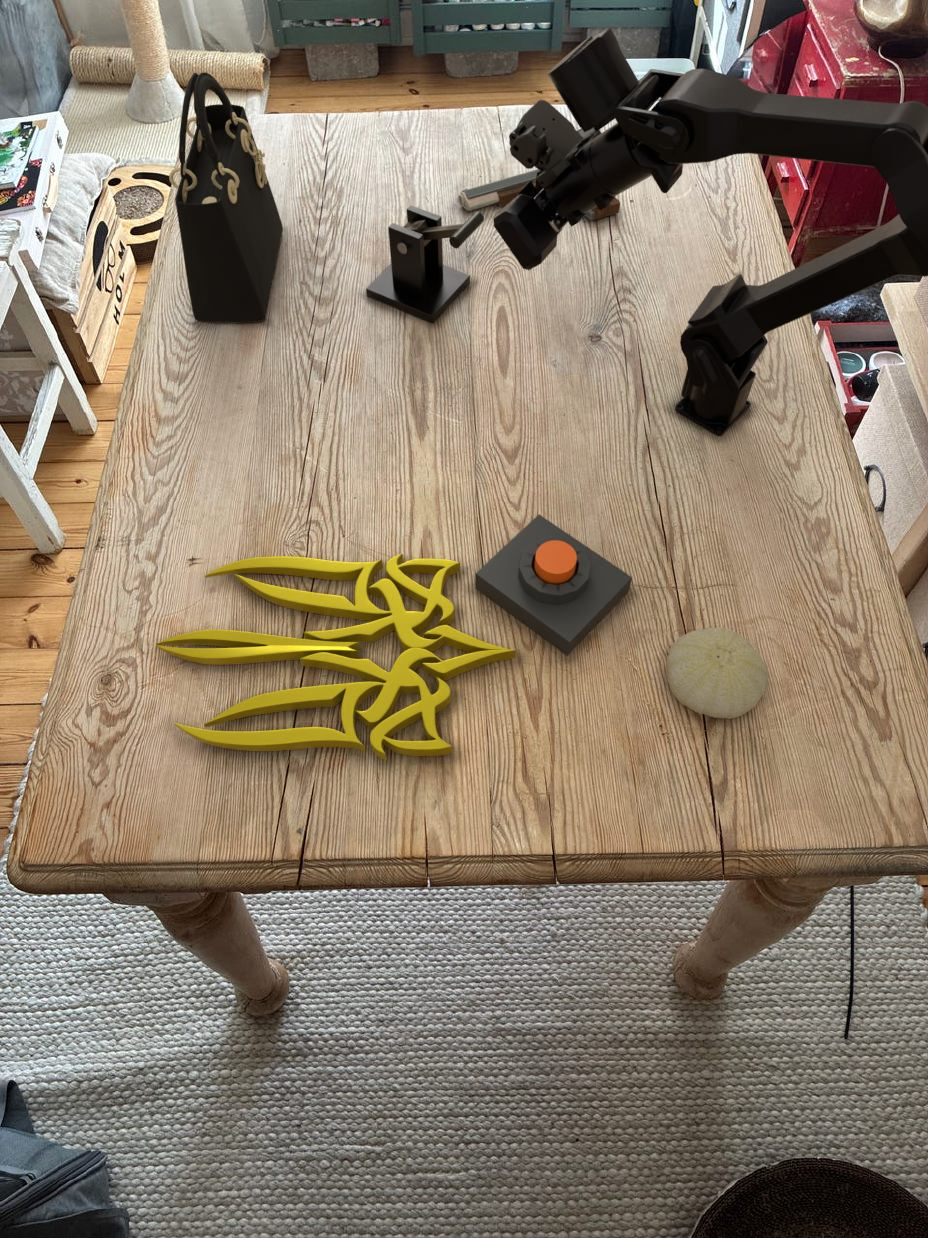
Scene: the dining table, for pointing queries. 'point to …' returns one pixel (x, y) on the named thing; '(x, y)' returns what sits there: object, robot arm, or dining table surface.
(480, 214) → the lever
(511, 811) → the dining table surface
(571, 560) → the button
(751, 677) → the sea urchin shell
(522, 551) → the button box
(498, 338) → the dining table surface
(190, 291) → the handbag
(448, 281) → the bracket
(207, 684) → the dining table surface
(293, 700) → the trident
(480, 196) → the handgun
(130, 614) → the dining table surface
